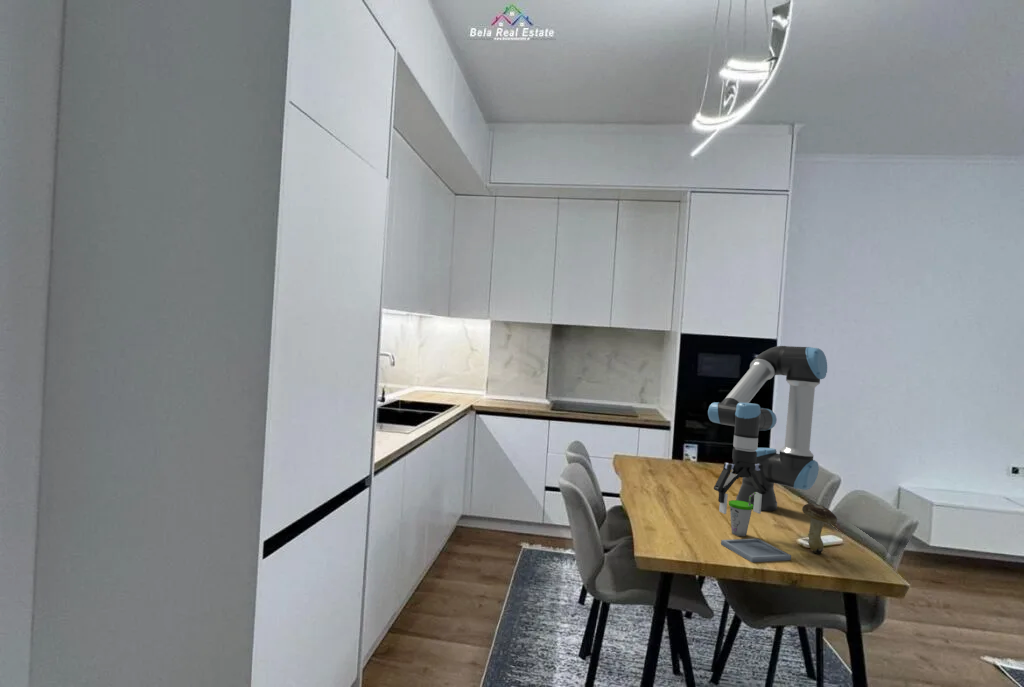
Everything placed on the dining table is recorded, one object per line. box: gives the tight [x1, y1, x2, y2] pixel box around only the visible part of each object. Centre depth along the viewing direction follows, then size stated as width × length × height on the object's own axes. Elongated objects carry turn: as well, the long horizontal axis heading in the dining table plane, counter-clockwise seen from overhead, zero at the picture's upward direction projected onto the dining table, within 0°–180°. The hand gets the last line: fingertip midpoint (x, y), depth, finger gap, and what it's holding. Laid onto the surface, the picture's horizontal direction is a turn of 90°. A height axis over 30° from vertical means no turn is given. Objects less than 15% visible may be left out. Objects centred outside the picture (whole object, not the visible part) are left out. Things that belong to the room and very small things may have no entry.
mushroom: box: [801, 502, 838, 555], centre depth 175 cm, size 9×9×15 cm
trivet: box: [720, 538, 792, 563], centre depth 172 cm, size 14×14×1 cm
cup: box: [728, 492, 756, 537], centre depth 188 cm, size 8×8×15 cm
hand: (739, 512), depth 188 cm, fingers open, 13 cm apart
